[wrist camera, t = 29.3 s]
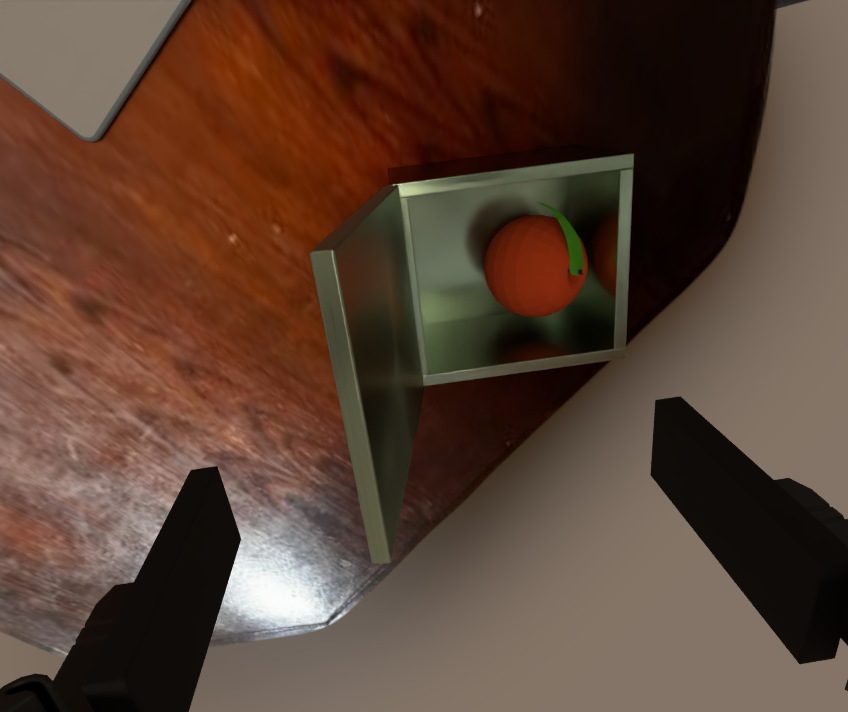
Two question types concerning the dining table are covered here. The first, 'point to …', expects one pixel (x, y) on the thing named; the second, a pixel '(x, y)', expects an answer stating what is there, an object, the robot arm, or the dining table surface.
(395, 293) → the bin lid
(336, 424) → the dining table surface
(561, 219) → the clementine
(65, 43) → the smartphone
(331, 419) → the dining table surface
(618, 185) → the grey green storage bin
